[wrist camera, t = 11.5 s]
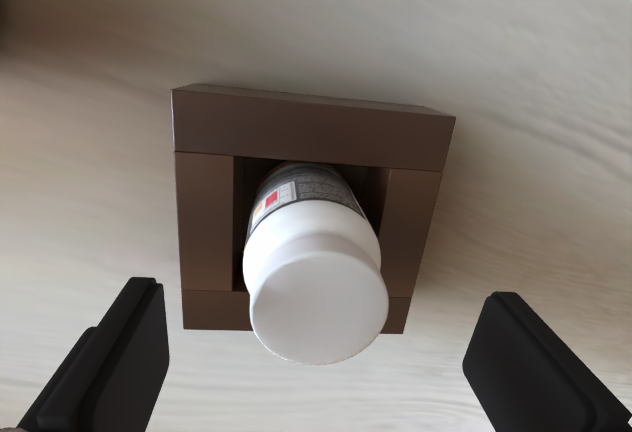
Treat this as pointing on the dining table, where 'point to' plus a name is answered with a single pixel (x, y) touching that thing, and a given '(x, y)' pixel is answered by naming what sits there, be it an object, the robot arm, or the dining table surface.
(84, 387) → the robot arm
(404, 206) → the holder
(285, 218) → the pill bottle
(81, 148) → the dining table surface
